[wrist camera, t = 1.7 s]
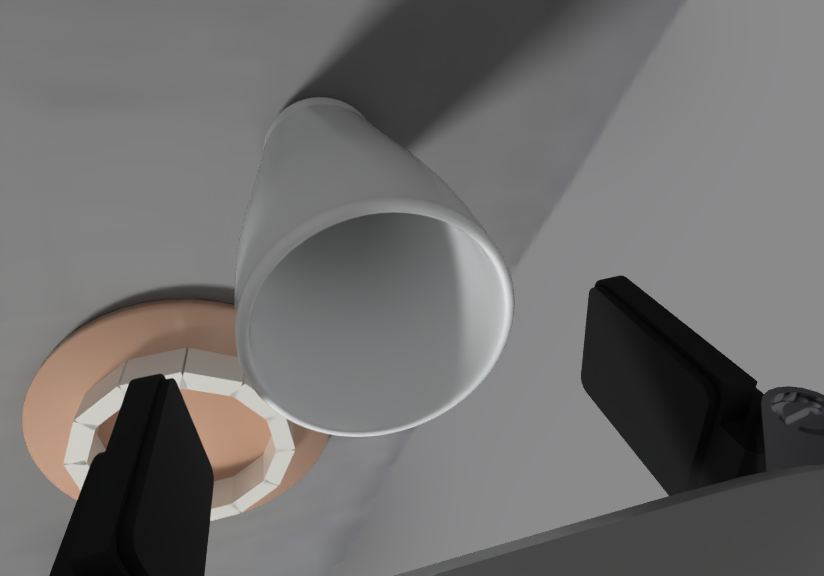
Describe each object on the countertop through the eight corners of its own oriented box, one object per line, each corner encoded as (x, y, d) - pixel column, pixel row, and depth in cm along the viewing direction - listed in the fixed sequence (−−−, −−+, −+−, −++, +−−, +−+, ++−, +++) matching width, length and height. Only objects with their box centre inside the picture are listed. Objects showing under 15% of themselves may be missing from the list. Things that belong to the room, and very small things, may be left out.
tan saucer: (-34, 336, 25) (-67, 377, 22) (303, 271, 28) (308, 301, 25) (100, 537, 33) (87, 582, 31) (348, 472, 36) (355, 509, 33)
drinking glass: (408, 98, 24) (564, 227, 12) (372, 230, 27) (467, 445, 15) (257, 58, 22) (255, 165, 10) (236, 207, 25) (213, 439, 12)
